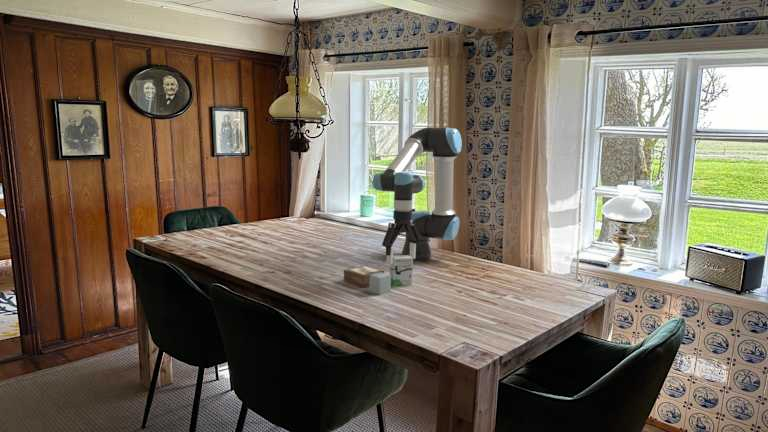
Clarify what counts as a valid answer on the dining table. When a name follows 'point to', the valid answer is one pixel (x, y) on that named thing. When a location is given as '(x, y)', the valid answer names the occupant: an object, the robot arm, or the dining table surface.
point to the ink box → (401, 270)
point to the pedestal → (360, 275)
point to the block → (380, 283)
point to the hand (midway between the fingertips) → (401, 260)
